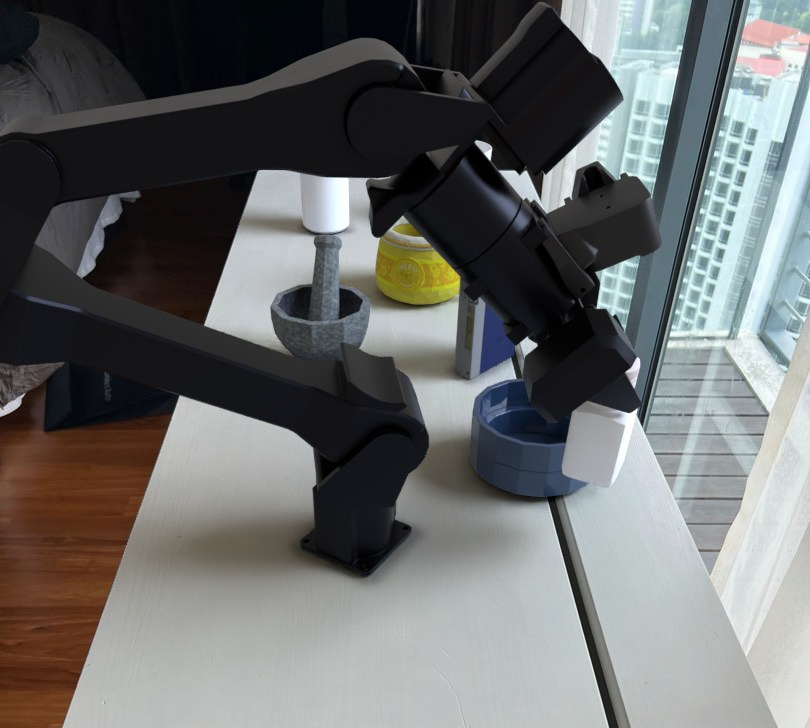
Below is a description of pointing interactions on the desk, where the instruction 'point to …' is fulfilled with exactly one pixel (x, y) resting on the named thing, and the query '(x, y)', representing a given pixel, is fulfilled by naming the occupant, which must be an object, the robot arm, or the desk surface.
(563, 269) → the robot arm
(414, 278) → the mug
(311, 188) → the can
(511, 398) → the bowl
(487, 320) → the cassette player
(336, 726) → the desk surface
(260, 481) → the desk surface
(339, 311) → the mortar and pestle
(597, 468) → the pepper shaker
